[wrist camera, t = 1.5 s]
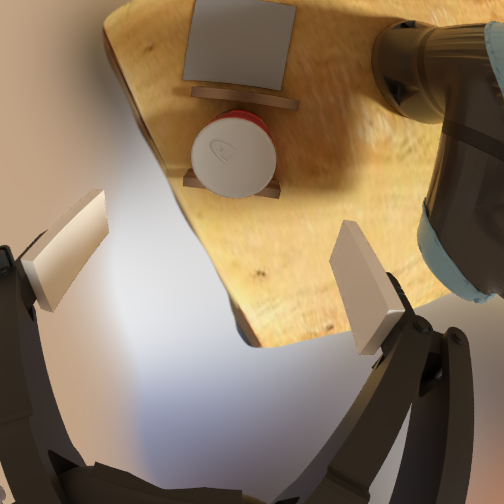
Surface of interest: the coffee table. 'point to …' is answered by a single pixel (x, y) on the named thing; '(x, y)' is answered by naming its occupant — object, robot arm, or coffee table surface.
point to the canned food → (234, 154)
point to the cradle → (243, 96)
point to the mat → (239, 42)
